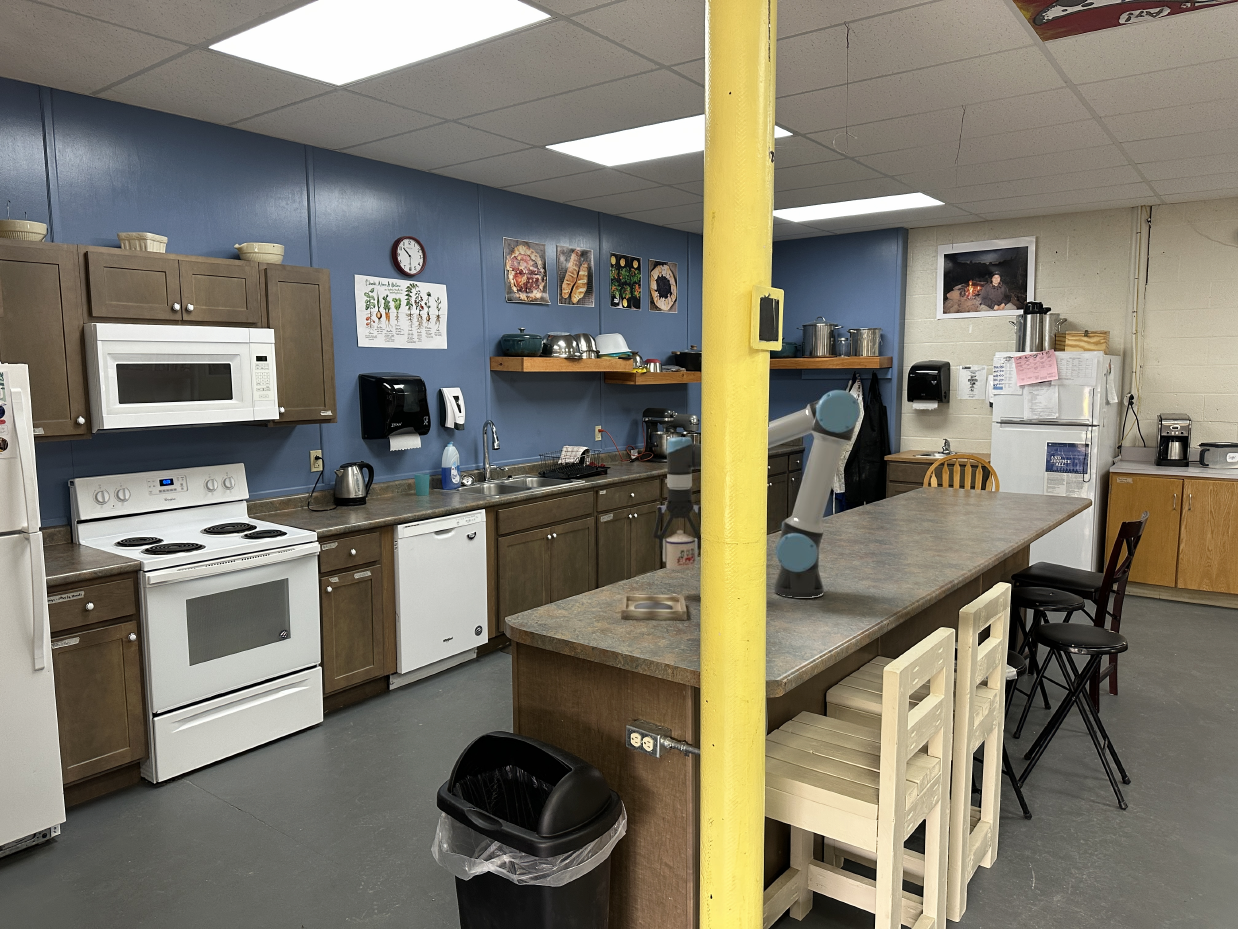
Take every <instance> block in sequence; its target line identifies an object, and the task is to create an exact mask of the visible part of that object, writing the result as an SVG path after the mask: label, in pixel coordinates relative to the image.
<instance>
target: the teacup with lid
mask: <svg viewBox="0 0 1238 929" xmlns="http://www.w3.org/2000/svg"><path fill="white" fill-rule="evenodd" d="M695 539H696V538H694V537H693V536H690V535H688V534H686V533H684V530H682V529H678V530H676V533H674V534H672V535H671V536H668V537H666V538H665V547H666V561H665V564H666V569H668V570H671V571H678V572H679V571H690V570H693V569H695V562H696V561H695V560H694V542H695ZM699 551H700V550H697V555H699Z"/></svg>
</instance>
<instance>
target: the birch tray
mask: <svg viewBox="0 0 1238 929" xmlns="http://www.w3.org/2000/svg"><path fill="white" fill-rule="evenodd" d="M685 602H686V601H685V598H684V595H662V594H661V595H656V594H654V595H650V594H648V595H647V594H646V595H645V594H622V597H621V608H620V609H621V610H620V615H621V616H620V618H621V620H651V621H652V620H655V621H657V620H658V621H659V620H660V621H661V620H662V621H665V620H668V621H669V620H670V621H671V620H672V621H687V614H688V613H687V607H686V603H685Z"/></svg>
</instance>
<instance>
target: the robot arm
mask: <svg viewBox="0 0 1238 929" xmlns="http://www.w3.org/2000/svg"><path fill="white" fill-rule="evenodd" d="M860 415H861V408H860V403H859V400H858V399H857V398H856V397H855V395H854V394H852V393H851V392H848V391H847V390H841V389H834V390H830V391H828V392H827V393H825V394H824V395H822V396H821V398H820V399H818V400H815V401H814V402H811V403H808V404H807V406H806V408H804V409H801V410H799V411H796V412H794V413H789V414H788V415H785V416H783V417H782V416H781V417H780V418H777V419H773V420H772V421H769V427H768V448H767V449H769V448H773V447H775V446H778V445H781V444H785V443H787V442H790V441H792V440H796V439H799V438H801V437H804V436H806V435H809V434H812V436H813V443H812V445H811V448H810V449H811V450H810V453H809V456H808V459H807V462H806V465H805V468H804V469H805V470H804V472H803V473H804V474H803V477H802V479H801V484H800V487H799V490H798V493H797V497H796V501H795V503H794V507H793V511H792V514H791V516H790V517H788V518H786V519H784V520H783V521H782V522H781V527H780V530H781V533H780V537H779V540H778V542H777V543H776V545H775V546H776V547H775V554H776V555H775V556H776V558H777V561H778V562H779V564H780V568H779V571H778V573H777V577H776V579H775V582H774V586H773V587H774V588H773V592H774V591H775V592H776V593H779V594H781V595H785V596H792V597H812V596H818V595H820V594H822V593H823V592H824V591H825V589H824V588H825V587H824V584H823V581H822V578H821V575H820V572H819V571H820V569H819V567H820V566H819V565H820V564H819V563H820V562H819V561H820V546H821V542H822V540H823V536H824V532H825V530H824V528H823V526H822V525H821V524H822V521H823V517H824V514H825V511H826V508H827V504H828V500H829V497H830V494H831V490H832V487H833V484H834V481H835V477H836V474H837V470H838V467H839V465H840V464H839V463H840V460H841V457H842V454H843V449H844V447H845V446H846V445H848V444H849V443H851V442H852V439H853V436H854V432H855V429H856V425H857V423H858V421H859V418H860ZM666 445H667V447H666V448H667V449H666V464H667V466H666V468H667V469H666V472H667V478H666V479H667V480H666V484H667V487H668V488H667V492H666V493H667V494H666V495H667V496H666V497H667V498H666V499H667V500H666V505H658V506H657V507H656V508H657V517H656V521H655V525H654V529H653V533H652V536H653V538H654V539H657V540H658V549H659V551H662V562H666V542H665V540H666V538H665V535H666V534H667V532H668V529H669V528H670V526H671V525H672V522H673V520H674V519H686V520H687V522H688V523H689V524H688V525H690V527H691V529H692V532H693V534H694V535H695V537H696V538H694V539H695V542H694V560H695V562H698V554H697V550H699V551H700V550H701V549H702V539H701V534H702V533H699V530H698V529H697V527H696V525H695V523H694V521H693V519H692V517H691V515H690V514H691V513H692V511H693V510H694V512H695V513H696V514H697V518H698V521H699V527H700V528H701V506H702V504H699V505H697V504H693V490H692V488H691V487H692V485H693V480H692V479H693V477H692V476H693V475H692V474H693V471H692V469H693V470H694V469H695V470H696V469H699V470H701V443H698V444H697V443H693V442H692V438H691V437H683V436H682V437H680V436H677V437H670V438H668V440H667V444H666ZM665 510H666V511H667V512H668V513H669V516H668V517H667V520H666V522H665V524H664V526H663V528H662V529H661V532H660V534H659V530H660V527H661V526H660V525H661V522H662V518H663V513H665V512H666V511H665ZM775 592H774V593H775ZM776 593H775V594H776ZM824 593H825V592H824Z"/></svg>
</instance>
